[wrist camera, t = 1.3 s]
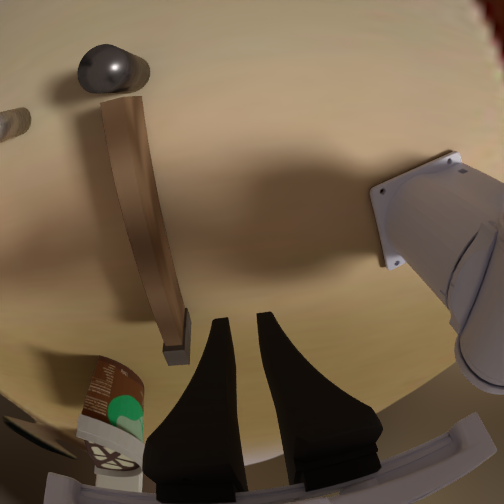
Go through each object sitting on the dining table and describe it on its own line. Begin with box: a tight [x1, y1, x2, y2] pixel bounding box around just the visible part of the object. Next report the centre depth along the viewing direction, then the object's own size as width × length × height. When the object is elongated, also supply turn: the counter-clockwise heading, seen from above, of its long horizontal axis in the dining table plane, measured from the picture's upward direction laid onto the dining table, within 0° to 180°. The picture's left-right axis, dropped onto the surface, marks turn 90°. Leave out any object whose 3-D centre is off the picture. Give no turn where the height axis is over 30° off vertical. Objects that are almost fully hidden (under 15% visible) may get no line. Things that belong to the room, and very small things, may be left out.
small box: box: [95, 472, 143, 493], centre depth 31 cm, size 8×6×13 cm
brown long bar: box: [100, 96, 191, 366], centre depth 18 cm, size 18×2×4 cm, turn 4°
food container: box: [76, 355, 145, 478], centre depth 24 cm, size 12×6×10 cm, turn 163°
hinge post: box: [78, 44, 150, 94], centre depth 12 cm, size 2×2×6 cm
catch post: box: [0, 107, 31, 142], centre depth 13 cm, size 2×2×4 cm
